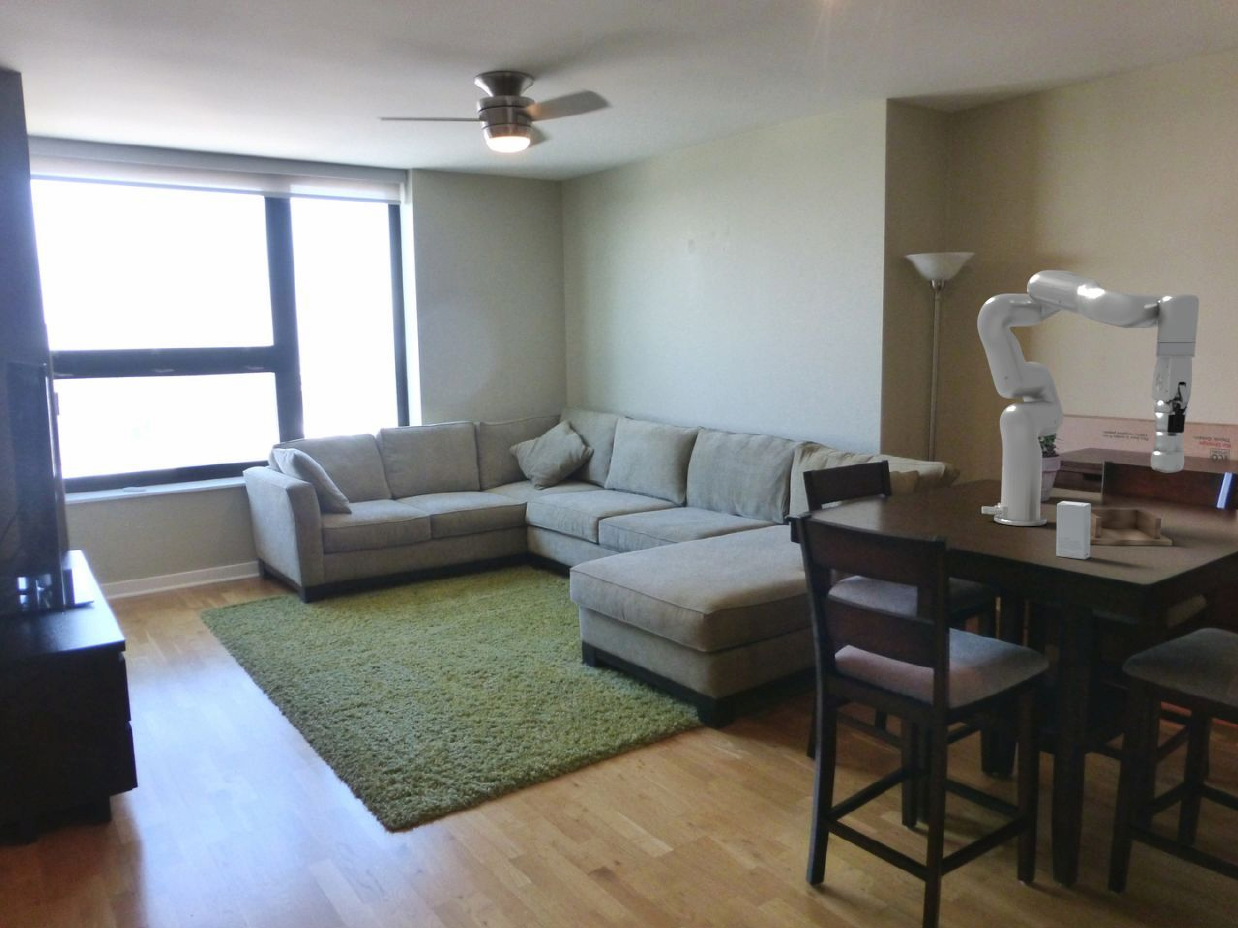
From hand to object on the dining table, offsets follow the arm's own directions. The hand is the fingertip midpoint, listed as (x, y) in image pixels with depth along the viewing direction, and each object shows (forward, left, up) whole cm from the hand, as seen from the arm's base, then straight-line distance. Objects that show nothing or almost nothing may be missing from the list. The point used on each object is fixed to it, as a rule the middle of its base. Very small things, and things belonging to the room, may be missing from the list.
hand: (1169, 430), depth 207 cm
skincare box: (-22, -11, -27) cm, 37 cm away
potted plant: (-12, +64, -27) cm, 70 cm away
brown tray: (-6, +10, -27) cm, 29 cm away
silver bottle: (0, 0, -10) cm, 10 cm away
